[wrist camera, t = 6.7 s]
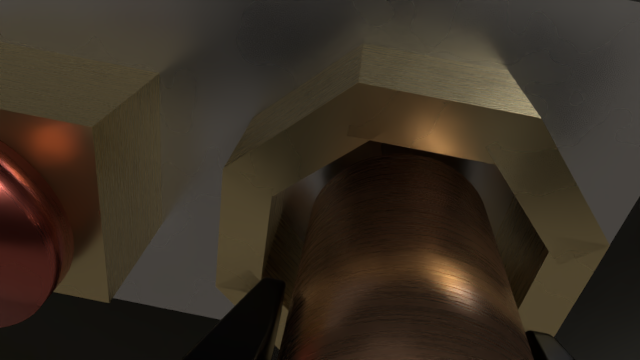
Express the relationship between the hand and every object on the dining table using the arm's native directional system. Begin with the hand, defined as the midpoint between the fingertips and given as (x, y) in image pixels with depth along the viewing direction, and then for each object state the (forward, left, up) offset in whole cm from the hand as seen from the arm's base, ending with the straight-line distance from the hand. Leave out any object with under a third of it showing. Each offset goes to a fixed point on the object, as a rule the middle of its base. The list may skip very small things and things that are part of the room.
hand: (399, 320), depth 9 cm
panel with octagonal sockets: (+3, 0, -5) cm, 6 cm away
